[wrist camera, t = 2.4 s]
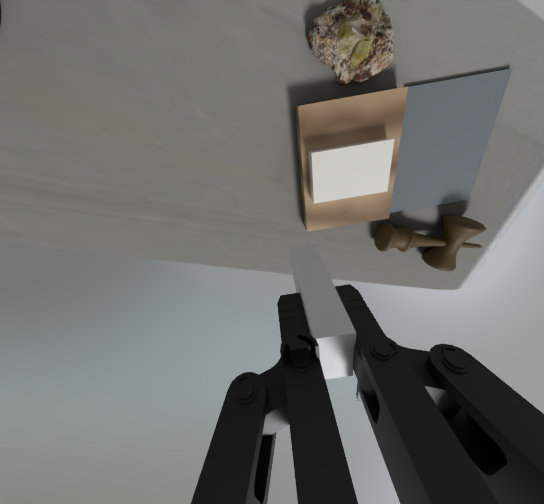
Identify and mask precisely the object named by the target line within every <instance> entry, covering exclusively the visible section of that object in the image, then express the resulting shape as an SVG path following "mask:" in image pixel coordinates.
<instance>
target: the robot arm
mask: <svg viewBox="0 0 544 504" xmlns="http://www.w3.org/2000/svg"><path fill="white" fill-rule="evenodd" d="M0 23H1V4H0ZM290 253H291V261H292V269H293V277H294V283H295V287H296V292H297V293H294V294H287V295H281V296H280V298H279V301H278V313H279V322H280V332H281V341H282V344H281V349H280V353H281V358H280V360H279V361H278V363H277V364H276V365H275V366H274V367H272V368H271V369H269V370H267V371H265V372H263V373H261V374H259V375H258V374H256V373H253V372H247V373H243V374H241V375H239V376H238V377H236V379H234V380H233V381H232V383H231V385H230V387H229V389H228V391H227V394H226V397H225V401H224V404H223V406H222V410H221V413H220V416H219V419H218V422H217V425H216V428H215V431H214V434H213V438H212V440H211V443H210V447H209V450H208V453H207V456H206V459H205V462H204V465H203V469H202V471H201V474H200V477H199V480H198V484H197V486H196V490H195V493H194V496H193V499H192V502H191V504H267V500H268V492H269V485H270V477H271V469H272V462H273V454H274V445H275V439H276V432H277V431H279V430H280V429H282V428H284V427H285V426H287V425H289V424H290V433H291V442H292V451H293V460H294V470H295V479H296V488H297V498H298V504H358V502H357V498H356V494H355V491H354V487H353V483H352V479H351V476H350V472H349V468H348V464H347V461H346V457H345V453H344V449H343V446H342V442H341V438H340V434H339V430H338V426H337V423H336V419H335V415H334V411H333V408H332V404H331V400H330V396H329V393H328V389H327V385H326V381H325V379H331V378H338V377H345V376H352V375H353V369H354V372H355V374H356V377H357V379H358V384H357V393H356V395H357V400H358V401H360V398H361V399H362V402H363V404H364V407H365V410H366V412H367V415H368V418H369V421H370V423H371V426H372V428H373V431H374V434H375V436H376V439H377V442H378V445H379V447H380V450H381V452H382V455H383V458H384V461H385V463H386V466H387V469H388V471H389V474H390V477H391V480H392V482H393V485H394V488H395V490H396V493H397V496H398V498H399V501H400V503H401V504H544V414H543V413H542V412H540V411H539V410H538V409H536V408H535V407H534V406H533V405H532V404H530V403H529V402H528V401H527V400H526V399H524V398H523V397H522V396H521V395H519V394H518V393H517V392H516V391H514V390H513V389H512V388H511V387H510V386H508V385H507V384H506V383H505V382H503V381H502V380H501V379H500V378H498V377H497V376H496V375H495V374H493V373H492V372H491V371H490V370H488V369H487V368H486V367H485V366H484V365H482V364H481V363H480V362H479V361H478V360H476V359H475V358H474V357H472V356H471V355H470V354H469V353H467V352H465V351H464V350H462V349H461V348H458V347H455V346H453V345H447V344H439V345H435V346H434V347H432V348H431V349H430V352H429V351H422V350H416V349H409V348H405V347H402V346H399V345H397V344H396V342H394V341H393V340H391V339H390V338H388V337H386V335H385V334H384V333H383V331H382V330H381V328H380V326H379V325H378V323H377V321H376V319H375V318H374V316H373V314H372V313H371V311H370V310H369V308H368V307H367V305H366V303H365V301H364V300H363V298H362V296H361V294H360V293H359V291H358V290H357V289H355V288H354V287H353V286H351V285H343V286H336V287H335V286H334V284H333V282H332V280H331V278H330V276H329V274H328V272H327V269H326V267H325V265H324V263H323V261H322V259H321V257H320V255H319V252H318V250H317V248H316V246H315V244H314V243H311V244H304V245H298V246H292V247H290Z"/></svg>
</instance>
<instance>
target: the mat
mask: <svg viewBox="0 0 544 504" xmlns="http://www.w3.org/2000/svg"><path fill="white" fill-rule="evenodd" d="M511 71H512V69H506V70H501V71H495V72H489V73H484V74H478V75H472V76H467V77H461V78H456V79H450V80H444V81H439V82H433V83H428V84H422V85H416V86H411V87H408V91H407V97H406V104H405V111H404V118H403V125H402V132H401V139H400V146H399V152H398V159H397V166H396V173H395V180H394V187H393V194H392V200H391V207H390V213H391V212H397V211H404V210H410V209H416V208H422V207H428V206H434V205H441V204H447V203H453V202H459V201H465V200H468V199H469V196H470V193H471V190H472V187H473V184H474V181H475V178H476V175H477V172H478V169H479V166H480V163H481V160H482V157H483V154H484V151H485V148H486V145H487V142H488V139H489V136H490V133H491V130H492V127H493V125H494V122H495V119H496V116H497V113H498V110H499V107H500V104H501V101H502V98H503V95H504V92H505V89H506V86H507V83H508V80H509V77H510V74H511Z"/></svg>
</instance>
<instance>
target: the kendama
mask: <svg viewBox="0 0 544 504" xmlns="http://www.w3.org/2000/svg"><path fill="white" fill-rule="evenodd" d="M443 224H444V234H443V236H442V238H441V239H439V238H434V237H430V236H426V235H422V234H418V233H415V232H414V231H413V230H412V228H410V227H408V226H406V227H402V228H395V227H393V226H392V225H391V224H389V223H387V222H385V223H382V224H381V225H380V226H379V227H378V229H377V230H376V233H375V239H374V241H375V245H376V247H377V249H378V250H380V251H387V250H388V249H389V248H398V250H400V251H402V252H405V251H407V250H408V249H409V248H412V247H422V246H435V247H434V248H432V249H431V250H429V251H427V252H425V253H424V254H423V255H422V259H423V260H424V262H425V263H427V264H428V265H429V266H431V267H433V268H436V269H439V270H442V271H453V270H454V269H456V254H457V251H458V250H459V248H460V247H466V248H481V247H482V246H481V245H478V244H472V243H465V241H466V240H467V239H469V238H471V237H473V236H475V235H477V234H479V233H481V232H483V231H485V230H486V228H485V226H484V225H483V224H481V223H479V222H477V221H475V220H472V219H469V218H466V217H463V216H458V215H444V216H443Z"/></svg>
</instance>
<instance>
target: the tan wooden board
mask: <svg viewBox="0 0 544 504" xmlns="http://www.w3.org/2000/svg"><path fill="white" fill-rule="evenodd" d="M407 91H408V86H407V87H402V88H396V89H390V90H385V91H379V92H374V93H368V94H362V95H357V96H351V97H346V98H340V99H334V100H329V101H323V102H317V103H312V104H306V105H301V106H297V107H295V113H296V126H297V138H298V151H299V164H300V177H301V190H302V203H303V215H304V226H305V228H306V230H307V232H308V231H314V230H320V229H326V228H332V227H339V226H345V225H351V224H357V223H363V222H370V221H376V220H382V219H388V218H389V214H390V207H391V200H392V194H393V187H394V180H395V173H396V166H397V159H398V152H399V146H400V139H401V132H402V125H403V118H404V111H405V104H406V97H407ZM383 138H391V139H394V146H393V153H392V161H391V168H390V176H389V184H388V191H387V192H381V193H375V194H369V195H363V196H357V197H351V198H345V199H339V200H333V201H327V202H321V203H315V204H314V203H313V202H312V200H311V189H310V171H309V153H308V151H314V150H319V149H325V148H331V147H337V146H343V145H348V144H354V143H360V142H366V141H372V140H378V139H383Z"/></svg>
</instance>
